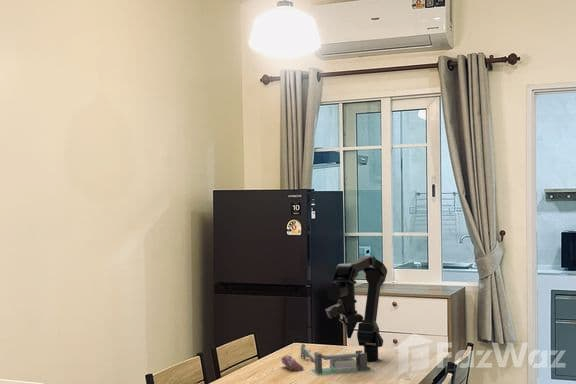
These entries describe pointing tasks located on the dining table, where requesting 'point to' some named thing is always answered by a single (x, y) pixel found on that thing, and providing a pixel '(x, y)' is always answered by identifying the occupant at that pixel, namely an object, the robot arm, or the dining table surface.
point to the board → (328, 371)
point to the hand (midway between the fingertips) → (349, 338)
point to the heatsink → (343, 365)
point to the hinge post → (362, 361)
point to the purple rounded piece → (291, 363)
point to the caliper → (306, 353)
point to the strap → (341, 356)
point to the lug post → (318, 362)
